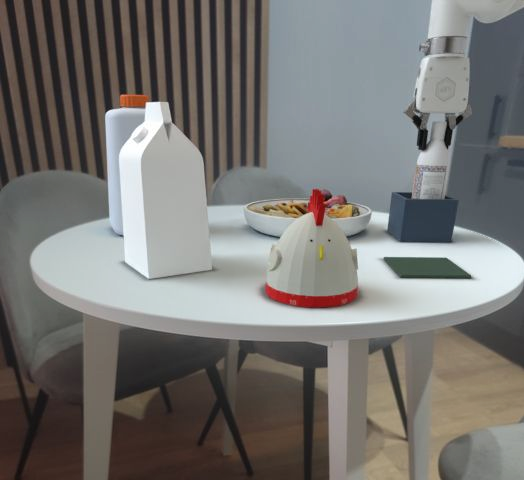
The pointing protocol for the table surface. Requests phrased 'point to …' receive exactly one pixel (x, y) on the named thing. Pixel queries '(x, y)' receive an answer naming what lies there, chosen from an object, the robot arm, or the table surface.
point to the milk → (163, 199)
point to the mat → (425, 267)
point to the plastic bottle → (117, 134)
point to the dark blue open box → (421, 218)
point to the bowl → (288, 210)
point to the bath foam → (432, 166)
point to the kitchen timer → (313, 262)
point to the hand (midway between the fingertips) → (433, 148)
